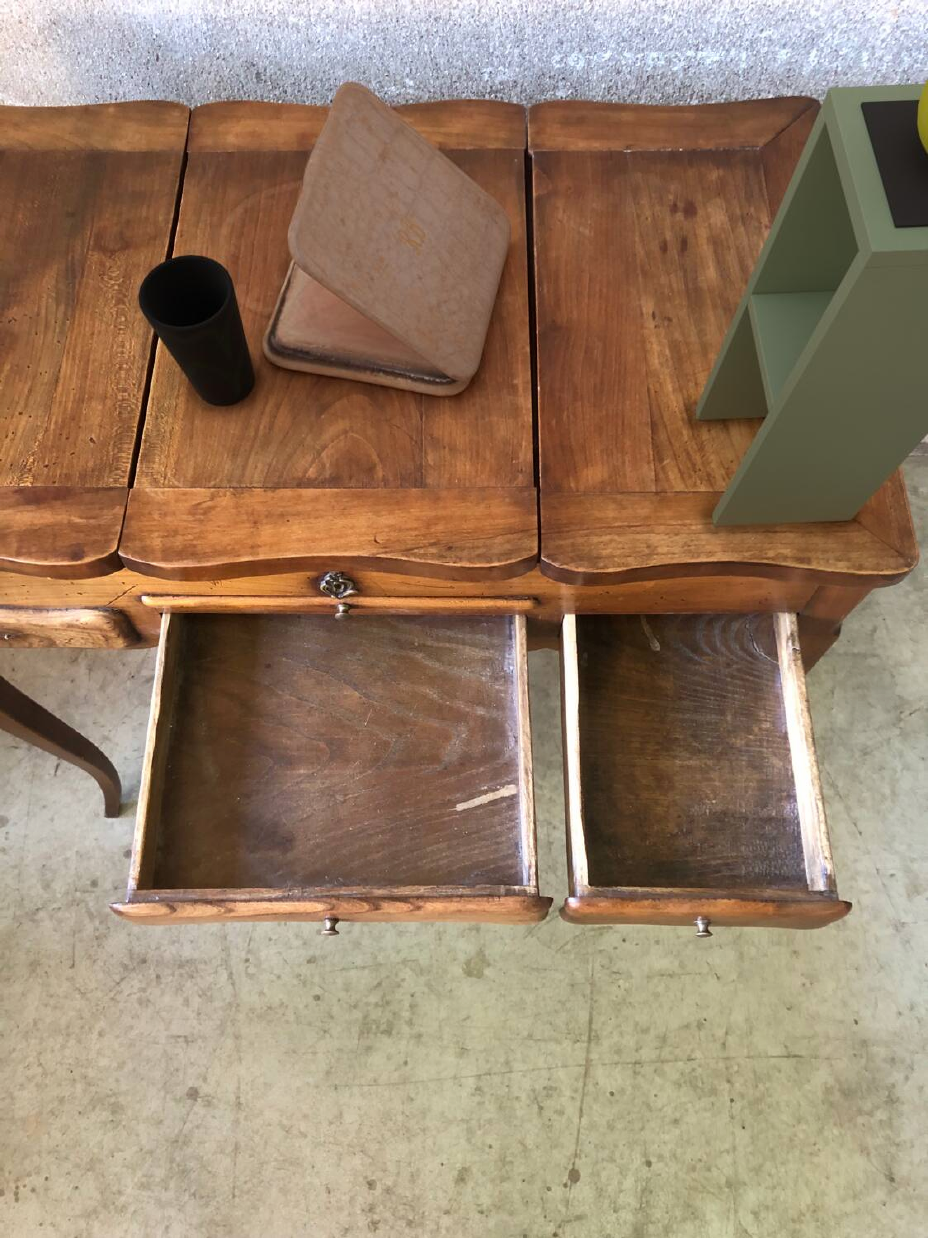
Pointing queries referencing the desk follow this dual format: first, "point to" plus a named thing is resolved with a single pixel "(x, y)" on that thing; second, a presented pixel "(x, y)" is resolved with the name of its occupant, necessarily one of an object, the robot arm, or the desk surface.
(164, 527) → the desk surface
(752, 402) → the shelf
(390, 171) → the case
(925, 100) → the ornament
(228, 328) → the cup
